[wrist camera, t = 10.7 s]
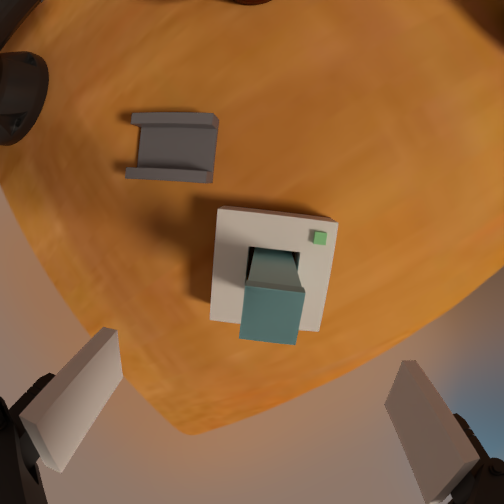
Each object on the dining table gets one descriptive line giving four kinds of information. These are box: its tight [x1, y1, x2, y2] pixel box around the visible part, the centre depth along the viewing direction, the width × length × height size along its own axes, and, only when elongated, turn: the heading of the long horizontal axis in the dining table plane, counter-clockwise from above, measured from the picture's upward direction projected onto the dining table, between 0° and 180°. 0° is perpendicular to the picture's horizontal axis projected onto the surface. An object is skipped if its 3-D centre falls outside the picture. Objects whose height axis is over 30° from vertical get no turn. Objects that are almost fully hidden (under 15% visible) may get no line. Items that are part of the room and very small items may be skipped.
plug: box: [239, 247, 306, 345], centre depth 28 cm, size 4×4×14 cm
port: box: [210, 206, 338, 332], centre depth 33 cm, size 12×12×5 cm
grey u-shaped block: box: [125, 112, 219, 183], centre depth 31 cm, size 9×7×4 cm
